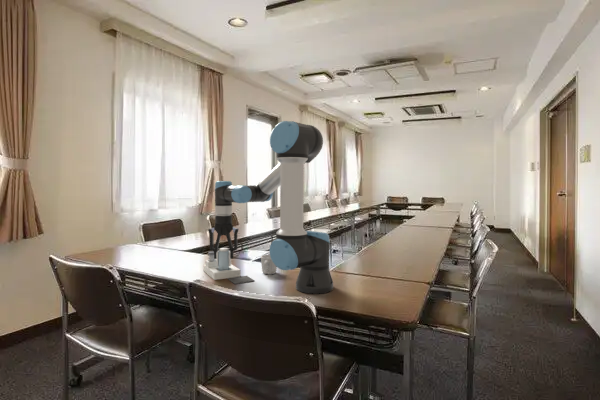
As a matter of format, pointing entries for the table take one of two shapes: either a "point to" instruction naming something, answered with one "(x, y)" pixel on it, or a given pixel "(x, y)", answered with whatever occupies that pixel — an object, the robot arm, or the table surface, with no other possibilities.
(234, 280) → the pad
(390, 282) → the table surface
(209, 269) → the housing
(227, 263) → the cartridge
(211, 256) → the plunger
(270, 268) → the cup
